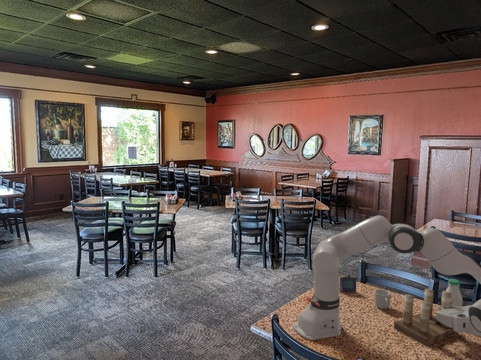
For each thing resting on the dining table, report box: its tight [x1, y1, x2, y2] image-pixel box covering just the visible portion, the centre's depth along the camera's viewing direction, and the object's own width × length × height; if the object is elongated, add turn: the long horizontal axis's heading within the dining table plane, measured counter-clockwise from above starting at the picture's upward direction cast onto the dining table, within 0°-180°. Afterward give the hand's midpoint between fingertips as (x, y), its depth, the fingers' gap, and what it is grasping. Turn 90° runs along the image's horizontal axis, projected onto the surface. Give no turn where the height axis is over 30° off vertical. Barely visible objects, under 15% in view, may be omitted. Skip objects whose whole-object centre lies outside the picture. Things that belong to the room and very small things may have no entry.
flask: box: [339, 272, 357, 294], centre depth 197 cm, size 9×3×11 cm, turn 84°
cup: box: [374, 288, 392, 310], centre depth 176 cm, size 11×8×8 cm
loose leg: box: [440, 290, 451, 329], centre depth 154 cm, size 4×4×16 cm
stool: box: [393, 288, 459, 347], centre depth 154 cm, size 22×16×16 cm
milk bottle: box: [445, 278, 463, 307], centre depth 163 cm, size 8×8×20 cm
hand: (443, 306), depth 154 cm, fingers closed on loose leg, 4 cm apart
